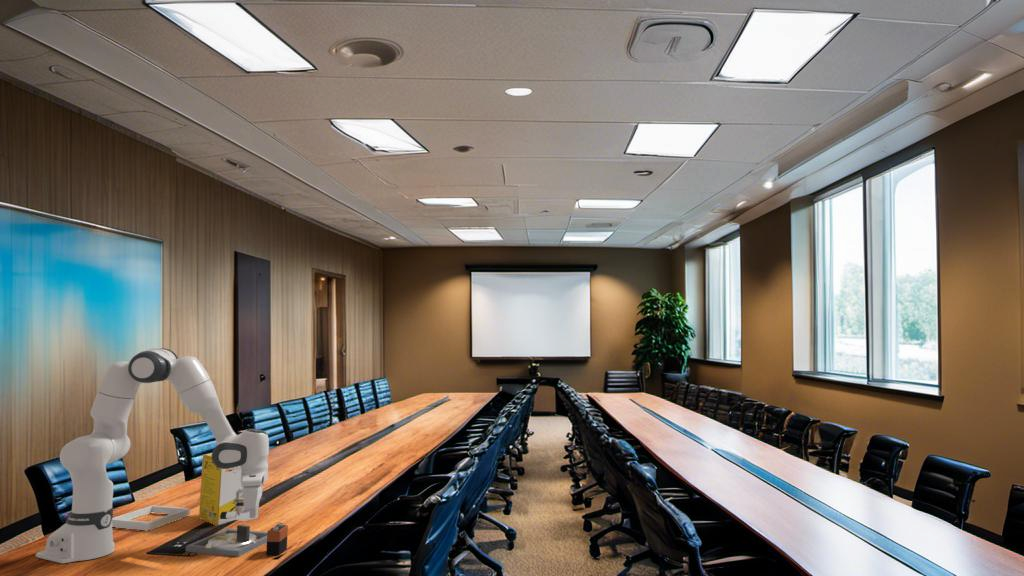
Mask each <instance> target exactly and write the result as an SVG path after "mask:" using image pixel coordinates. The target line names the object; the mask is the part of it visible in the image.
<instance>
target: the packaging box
mask: <svg viewBox="0 0 1024 576" xmlns="http://www.w3.org/2000/svg"><path fill="white" fill-rule="evenodd" d="M201 463H202V464H201V483H200V495H199V496H200V497H199V510H198V519H199V518H201V519H203V520H205V521H207V522H206V523H208V522H209V523H208V524H210V523H211V525H212V524H213V525H212V526H215V527H218V526H220V525H223V524H227V523H229V522H232V521H241V522H247V521H252V520H256V519H259V516H260V515H259V511H260V501H259V502H258V505H257V510H256V516H255V517H254V518H250V511H249V510H245V509H244V502H243V487H242V486H241V466H237V467H233V468H229V469H221V468H218V467H217V466H215V465H214V463H213V461H212V453H207V454H202V461H201ZM201 519H200V520H201ZM203 520H202V521H203ZM205 521H204V522H205Z"/></svg>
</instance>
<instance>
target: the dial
mask: <svg viewBox="0 0 1024 576" xmlns="http://www.w3.org/2000/svg"><path fill="white" fill-rule="evenodd" d="M250 528H251V525H250V526H249V525H245V524H237V525H236V529H237V533H229V534H223V535H219V536H216V537H213V538H211V539H210V540H209V541H208V544H209V543H210V544H214V545H213V547H219V548H229V549H240V548H242V547H244V546H246V545H248V544H250V543H251V542H252V541H256V540H257V538H256V535H254V534H251V533H249V532H250V531H251V529H250Z"/></svg>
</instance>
